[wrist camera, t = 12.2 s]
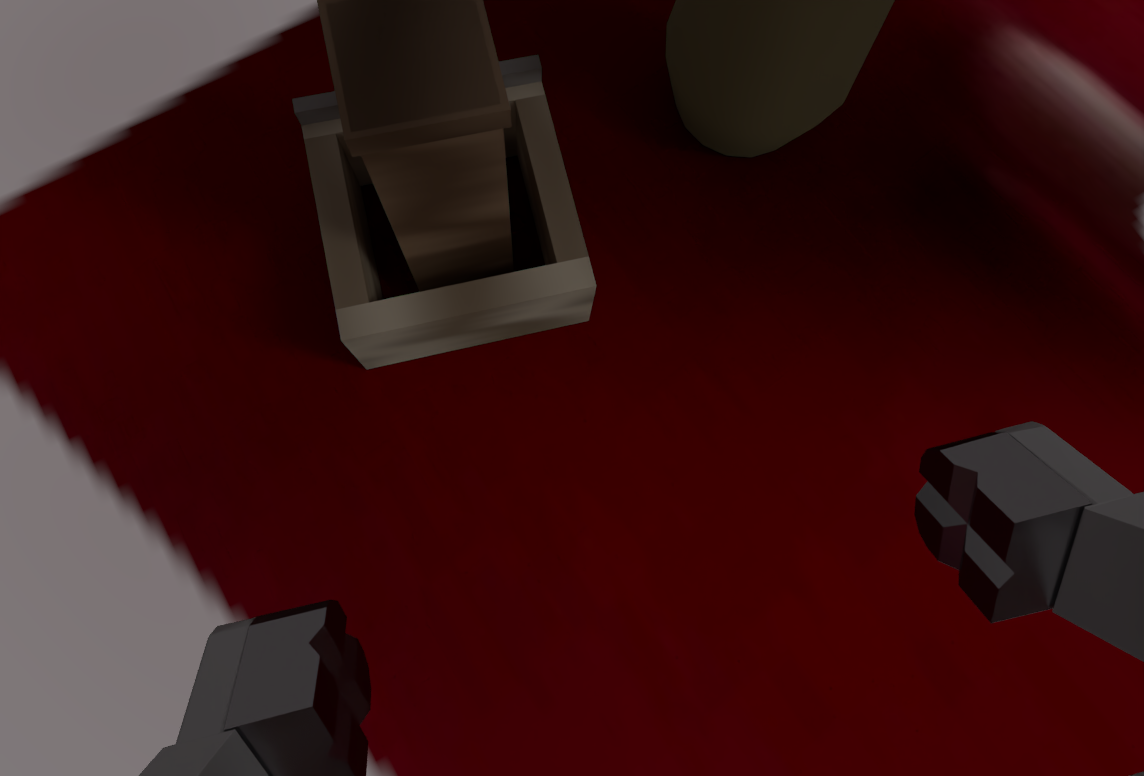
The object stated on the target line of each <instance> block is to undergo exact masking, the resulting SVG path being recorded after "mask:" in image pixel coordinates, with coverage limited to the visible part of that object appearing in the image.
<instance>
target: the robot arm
mask: <svg viewBox="0 0 1144 776" xmlns="http://www.w3.org/2000/svg"><path fill="white" fill-rule="evenodd" d="M919 472H920V473H921V474H922V476H923V477H924V478H925V479H926V480H927V481H928V482H927V483H926V484H925V485H924V487H923V488H922V489H921V490H920V492H919V493H918V494H917V495H916V500H915V513H914V515H915V519H916V522H917V526H918V530H919V533H920V535H921V537H922V539H923V541H924V542H925V544H926V546H927V548H928V549H929V550H930V551H931V553H932V554H933V555H934V556H935V558H936V559H937V560H938V561H940V562H942V563H944V564H947V565H949V566H951V567H953V568H956V569H958V570H959V586H960V587H961V589H962V590H963V591H964V592H965V593H966V595H967V596H968V597H969V598H970V599H971V600H972V602H973V603H974V604H975V605H976V606H977V607H978V609H979V610H980V611H981V612H982V613H983V615H984V616H985V617H986V618H987V619H988V620H989V622H990V623H994V622H998V621H1002V620H1006V619H1011V618H1015V617H1019V616H1023V615H1027V614H1031V613H1036V612H1040V611H1044V610H1048V609H1052V608H1053V611H1052V612H1054V613H1056V614H1057V615H1059V616H1061V617H1063V618H1065V619H1067V620H1068V621H1070V622H1072V623H1074V624H1076V625H1077V626H1079V627H1081V628H1083V629H1085V630H1087V631H1088V632H1090V633H1092V634H1094V635H1096V636H1098V637H1099V638H1101V639H1103V640H1105V641H1107V642H1109V643H1110V644H1112V645H1114V646H1116V647H1118V648H1120V649H1121V650H1123V651H1125V652H1127V653H1129V654H1130V655H1132V656H1134V657H1136V658H1138V659H1140V660H1141V661H1143V662H1144V492H1141V493H1137V494H1133V493H1132V492H1130V491H1129V490H1128V489H1126V488H1125V487H1124V486H1123V485H1121V484H1120V483H1119V482H1117V481H1116V480H1115V479H1113V478H1112V477H1111V476H1109V475H1108V474H1107V473H1106V472H1104V471H1103V470H1102V469H1100V468H1099V467H1098V466H1096V465H1095V464H1094V463H1093V462H1091V461H1090V460H1089V459H1087V458H1086V457H1085V456H1083V455H1082V454H1081V453H1080V452H1078V451H1077V450H1076V449H1074V448H1073V447H1072V446H1070V445H1069V444H1068V443H1067V442H1065V441H1064V440H1063V439H1061V438H1060V437H1059V436H1057V435H1056V434H1055V433H1054V432H1052V431H1051V430H1050V429H1048V428H1047V427H1046V426H1044V425H1042V424H1039V423H1036V422H1032V421H1031V422H1028V423H1024V424H1020V425H1016V426H1012V427H1009V428H1005V429H1001V430H997V431H996V432H990V433H986V434H982V435H979V436H975V437H971V438H967V439H963V440H959V441H956V442H952V443H948V444H944V445H940V446H937V447H933V448H929V449H927V450H926V451H925V453H924V454H923V456H922V457H921V462H920V469H919ZM346 621H347V616H346V615H345V613H344V611H343V609H342V608H341V606H340V604H339V602H338V601H336V600H327V601H323V602H319V603H314V604H310V605H305V606H301V607H296V608H292V609H288V610H283V611H279V612H274V613H270V614H266V615H261V616H257V617H256V618H252V619H247V620H243V621H238V622H234V623H229V624H225V625H220V626H217V627H216V628H215V630H214V631H213V632H212V633H211V634H210V636H209V638H208V640H207V644H206V647H205V650H204V653H203V657H202V660H201V663H200V667H199V670H198V673H197V676H196V680H195V683H194V686H193V689H192V693H191V696H190V699H189V703H188V706H187V709H186V713H185V716H184V719H183V722H182V726H181V729H180V732H179V735H178V739H177V742H176V744H175V745H172V746H168V747H165V748H163V749H162V750H161V751H160V752H159V753H158V754H157V756H156V757H155V758H154V759H153V760H152V761H151V762H150V763H149V765H148V766H147V767H146V768H145V769H144V770H143V771H142V773H141V774H140V775H139V776H366V768H367V754H368V740H367V738H366V736H365V735H364V733H363V731H362V729H361V727H360V724H361V723H362V721H363V720H364V718H365V717H366V715H367V714H368V712H369V711H370V705H371V683H370V675H369V667H368V663H367V660H366V657H365V653H364V650H363V648H362V646H361V644H360V642H359V640H358V639H357V638H355V637H353V636H351V635H348V634H346V633H345V631H346ZM1130 776H1144V772H1140V773H1137V774H1133V775H1130Z"/></svg>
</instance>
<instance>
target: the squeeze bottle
mask: <svg viewBox="0 0 1144 776" xmlns="http://www.w3.org/2000/svg"><path fill="white" fill-rule="evenodd" d="M893 2H894V0H676V2H675V4H674V7H673V10H672V12H671V15H670V17H669V20H668V22H667V33H666V61H667V66H668V70H669V75H670V80H671V85H672V89H673V94H674V99H675V103H676V107H677V109H678V112H679V114H680V116H681V119H682V121H683V124H684V126H685V128H686V129H687V130H688V131H689V132H690V133H691V134H692V135H693V136H694V137H695V138H696V139H697V140H698V141H699V142H700V143H701V144H702V145H704V146H706V147H709V148H711V149H713V150H715V151H717V152H719V153H722V154H724V155H727V156H739V157H754V156H758V155H761V154H765V153H768V152H771V151H775V150H776V149H778V148H780V147H781V146H783V145H785V144H786V143H788V142H790V141H791V140H793V139H795V138H796V137H798V136H800V135H802V134H803V133H805V132H807V131H808V130H810V129H812V128H813V127H815V126H817V125H818V124H819V123H820V122H822V121H823V120H824V119H825V118H826V117H828V116H829V115H830V114H831V113H832V112H834V111H835V110H836V109H837V108H838V107H840V106H841V105H842V104H843V103H844V101H845V99H846V97H847V95H848V93H849V91H850V89H851V87H852V85H853V83H854V81H855V79H856V77H857V75H858V73H859V71H860V69H861V67H862V65H863V63H864V61H865V59H866V57H867V55H868V53H869V51H870V49H871V47H872V45H873V43H874V41H875V39H876V37H877V35H878V33H879V31H880V29H881V27H882V25H883V23H884V21H885V19H886V16H887V14H888V12H889V10H890V8H891V6H892V4H893Z"/></svg>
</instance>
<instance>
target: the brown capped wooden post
mask: <svg viewBox="0 0 1144 776" xmlns="http://www.w3.org/2000/svg"><path fill="white" fill-rule="evenodd" d="M317 3H318V8H319V13H320V18H321V23H322V28H323V33H324V38H325V43H326V48H327V53H328V58H329V64H330V69H331V74H332V79H333V84H334V89H335V94H336V99H337V104H338V109H339V114H340V119H341V124H342V130H343V135H344V140H345V142H346V144H347V147H348V149H349V151H350V153H351V155H352V157H355V156H360V155H361V157H362V159H363V161H364V164H365V166H366V168H367V170H368V173H369V175H370V177H371V180H372V182H373V184H374V187H375V189H376V191H377V194H378V196H379V198H380V201H381V203H382V205H383V208H384V210H385V212H386V215H387V217H388V219H389V222H390V224H391V226H392V229H393V231H394V233H395V235H396V238H397V240H398V242H399V245H400V247H401V249H402V252H403V254H404V256H405V259H406V261H407V263H408V266H409V268H410V270H411V273H412V275H413V277H414V280H415V282H416V284H417V287H418V289H419V291H420V292H422V291H427V290H431V289H436V288H441V287H445V286H450V285H455V284H460V283H464V282H469V281H474V280H479V279H483V278H488V277H493V276H498V275H502V274H507V273H512V272H514V267H513V253H512V239H511V226H510V212H509V198H508V185H507V171H506V157H505V144H504V130H503V128H509V127H512V125H511V109H510V105H509V101H508V97H507V93H506V89H505V85H504V81H503V78H502V74H501V70H500V66H499V62H498V58H497V54H496V50H495V46H494V42H493V38H492V34H491V30H490V27H489V23H488V19H487V15H486V11H485V7H484V3H483V0H317Z"/></svg>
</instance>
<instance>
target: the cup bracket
mask: <svg viewBox="0 0 1144 776" xmlns="http://www.w3.org/2000/svg"><path fill="white" fill-rule="evenodd" d="M499 66H500V70H501V74H502V78H503V81H504V85H505V89H506V93H507V97H508V101H509V105H510V109H511V125H512V127H509V128H503V130H504V144H505V157H506V158H507V157H512V156H517V155H518V159H519V163H520V167H521V171H522V175H523V179H524V183H525V187H526V190H527V194H528V198H529V202H530V206H531V210H532V214H533V218H534V222H535V226H536V230H537V234H538V238H539V242H540V246H541V250H542V253H543V257H544V261H545V266H540V267H536V268H531V269H526V270H521V271H517V272H512V273H507V274H502V275H498V276H493V277H488V278H483V279H479V280H474V281H469V282H464V283H460V284H455V285H450V286H445V287H441V288H436V289H431V290H427V291H422V292H417V293H412V294H408V295H403V296H398V297H393V298H389V299H384V300H383V296H382V291H381V286H380V281H379V276H378V271H377V266H376V261H375V256H374V251H373V246H372V241H371V236H370V231H369V226H368V221H367V216H366V211H365V206H364V201H363V196H362V191H361V186H362V185H368V184H373V182H372V180H371V177H370V175H369V173H368V170H367V168H366V166H365V164H364V161H363V159H362V157H361V155H360V156H355V157H352V155H351V153H350V151H349V149H348V147H347V144H346V142H345V140H344V135H343V130H342V124H341V119H340V114H339V109H338V104H337V99H336V94H335V91H333V92H328V93H322V94H317V95H311V96H306V97H300V98H295V99H292V101H293V106H294V112H295V114H296V116H297V118H298V120H299V122H300V124H301V125H302V131H303V136H304V142H305V147H306V153H307V158H308V163H309V169H310V174H311V180H312V185H313V191H314V196H315V201H316V207H317V212H318V218H319V223H320V229H321V234H322V239H323V245H324V250H325V256H326V261H327V267H328V272H329V277H330V283H331V288H332V294H333V299H334V305H335V310H336V316H337V321H338V326H339V332H340V337H341V341H342V342H343V343H344V345H345V346H346V347H347V348H348V349H349V350H350V351H351V352H352V354H353V355H354V356H355V357H356V358H357V359H358V360H359V361H360V363H361V364H362V365H363V366H364V367H365V368H366V369H371V368H376V367H380V366H385V365H389V364H394V363H398V362H403V361H407V360H412V359H417V358H421V357H426V356H430V355H435V354H439V353H444V352H448V351H453V350H457V349H462V348H467V347H471V346H476V345H480V344H485V343H489V342H494V341H498V340H503V339H507V338H512V337H517V336H521V335H526V334H530V333H535V332H539V331H544V330H548V329H553V328H557V327H562V326H566V325H571V324H576V323H580V322H585V321H589V317H590V313H591V308H592V304H593V299H594V295H595V290H596V282H595V279H594V275H593V271H592V267H591V264H590V260H589V256H588V253H587V249H586V245H585V241H584V238H583V234H582V230H581V227H580V223H579V219H578V215H577V212H576V208H575V204H574V200H573V197H572V193H571V189H570V186H569V182H568V178H567V174H566V171H565V167H564V163H563V160H562V156H561V152H560V148H559V145H558V141H557V137H556V133H555V130H554V126H553V122H552V119H551V115H550V111H549V107H548V104H547V100H546V96H545V93H544V89H543V85H542V81H541V80H542V67H541V64H540V60H539V56H538V55H533V56H528V57H522V58H517V59H511V60H506V61H500V62H499Z"/></svg>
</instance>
